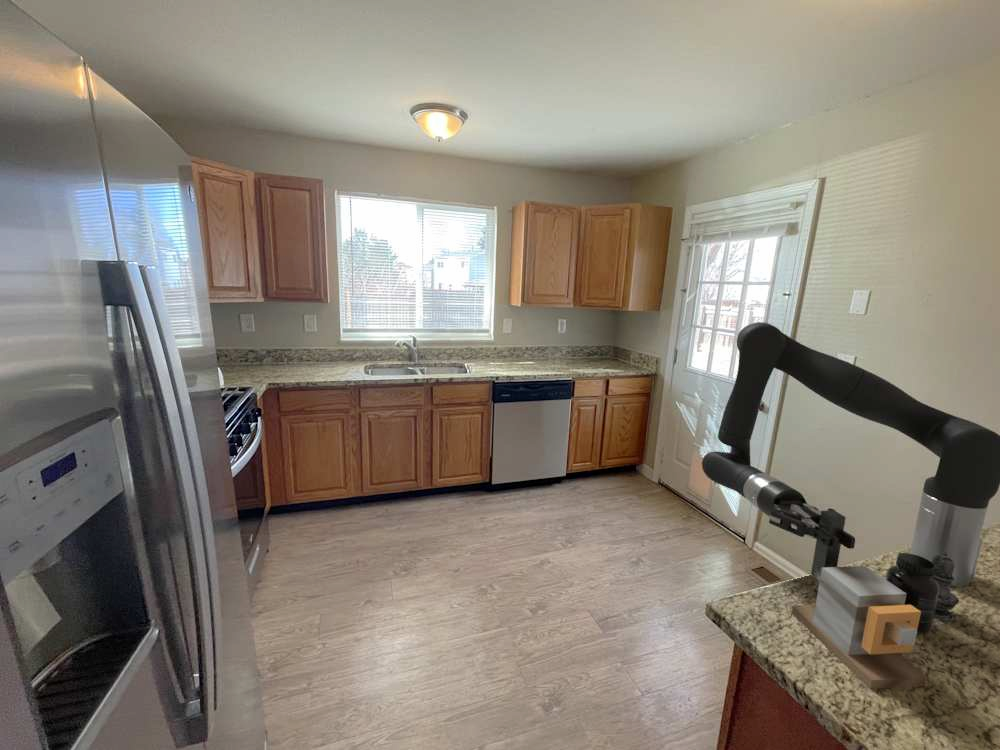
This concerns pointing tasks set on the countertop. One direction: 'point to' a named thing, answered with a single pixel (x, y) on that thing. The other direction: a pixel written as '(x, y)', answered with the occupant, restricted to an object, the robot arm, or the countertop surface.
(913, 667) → the stand
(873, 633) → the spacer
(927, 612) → the supplement bottle
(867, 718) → the countertop surface
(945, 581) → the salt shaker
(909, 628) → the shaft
